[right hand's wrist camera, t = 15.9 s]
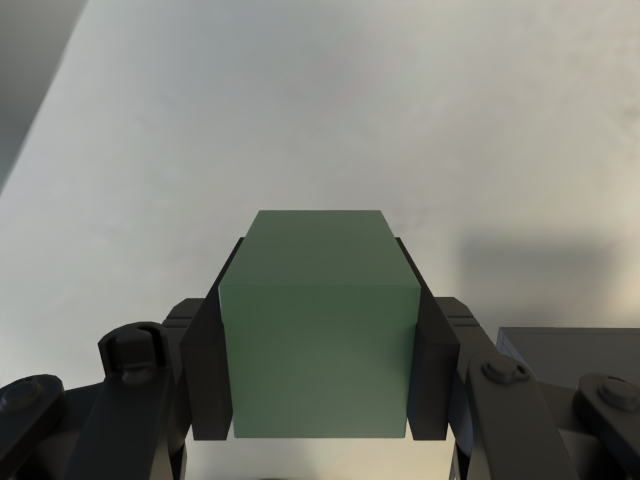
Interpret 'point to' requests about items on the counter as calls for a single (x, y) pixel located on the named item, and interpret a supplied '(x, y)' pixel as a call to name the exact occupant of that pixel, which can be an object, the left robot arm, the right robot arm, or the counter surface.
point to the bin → (573, 352)
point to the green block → (319, 326)
